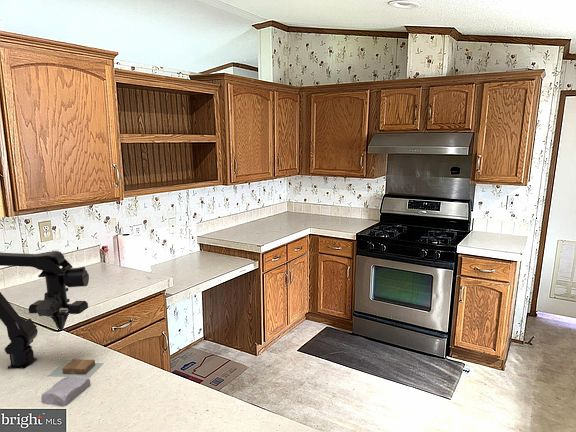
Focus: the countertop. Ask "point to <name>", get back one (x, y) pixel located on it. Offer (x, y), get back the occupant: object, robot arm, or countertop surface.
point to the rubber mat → (59, 373)
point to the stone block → (65, 390)
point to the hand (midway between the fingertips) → (61, 329)
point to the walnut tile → (78, 366)
